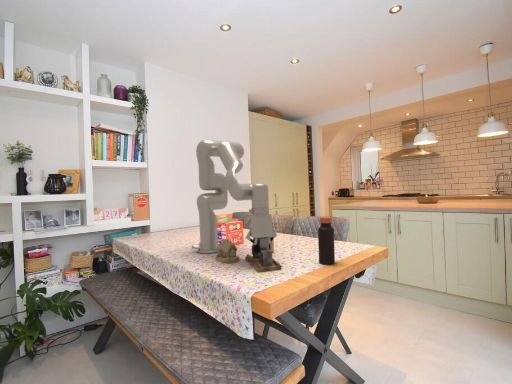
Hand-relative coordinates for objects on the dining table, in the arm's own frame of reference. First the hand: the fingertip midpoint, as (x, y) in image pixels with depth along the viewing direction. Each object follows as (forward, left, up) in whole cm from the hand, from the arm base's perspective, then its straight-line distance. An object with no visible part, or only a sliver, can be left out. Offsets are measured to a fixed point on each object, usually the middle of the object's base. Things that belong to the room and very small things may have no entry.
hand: (262, 252), depth 120 cm
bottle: (+27, -9, -6) cm, 29 cm away
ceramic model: (-13, +15, -6) cm, 20 cm away
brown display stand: (0, 0, -5) cm, 5 cm away
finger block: (0, 0, -1) cm, 1 cm away
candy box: (+8, +19, -6) cm, 21 cm away
